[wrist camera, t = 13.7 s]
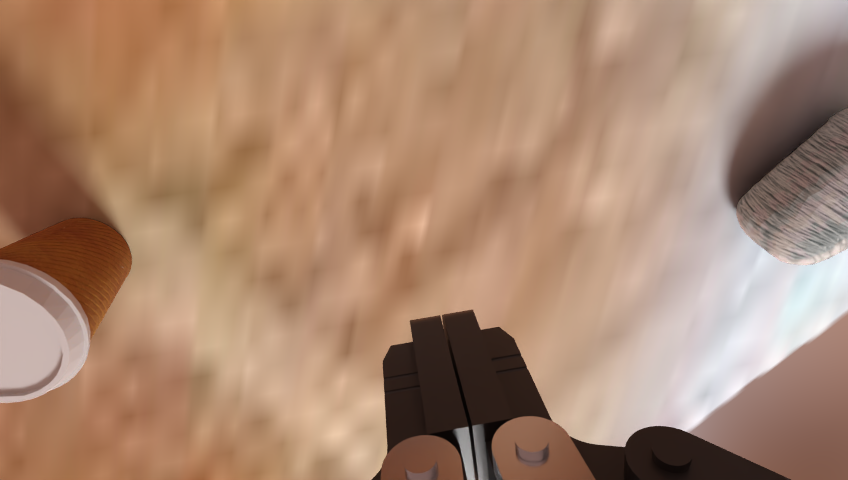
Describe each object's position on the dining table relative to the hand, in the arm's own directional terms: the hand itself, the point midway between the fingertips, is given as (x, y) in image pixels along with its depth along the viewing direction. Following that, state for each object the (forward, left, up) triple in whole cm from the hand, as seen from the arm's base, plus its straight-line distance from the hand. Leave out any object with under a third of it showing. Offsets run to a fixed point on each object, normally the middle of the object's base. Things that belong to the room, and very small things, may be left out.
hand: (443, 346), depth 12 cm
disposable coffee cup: (+25, +7, -29) cm, 39 cm away
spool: (-34, +10, -29) cm, 46 cm away
